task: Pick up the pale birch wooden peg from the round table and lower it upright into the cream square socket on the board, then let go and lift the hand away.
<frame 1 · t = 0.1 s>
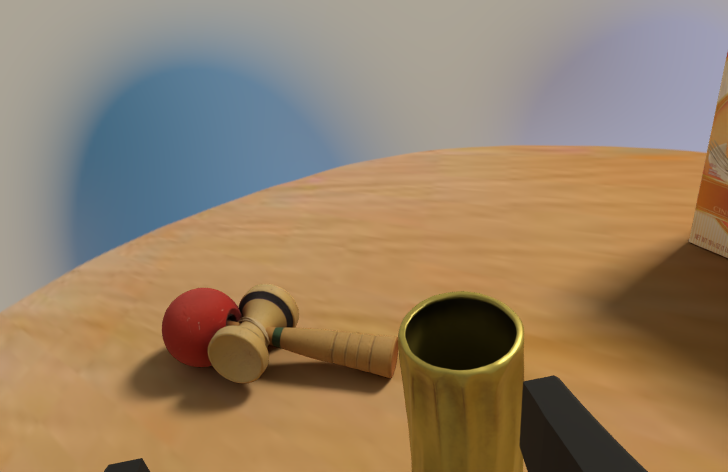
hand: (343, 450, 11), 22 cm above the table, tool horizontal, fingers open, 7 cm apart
kendama: (285, 362, 45), on the table
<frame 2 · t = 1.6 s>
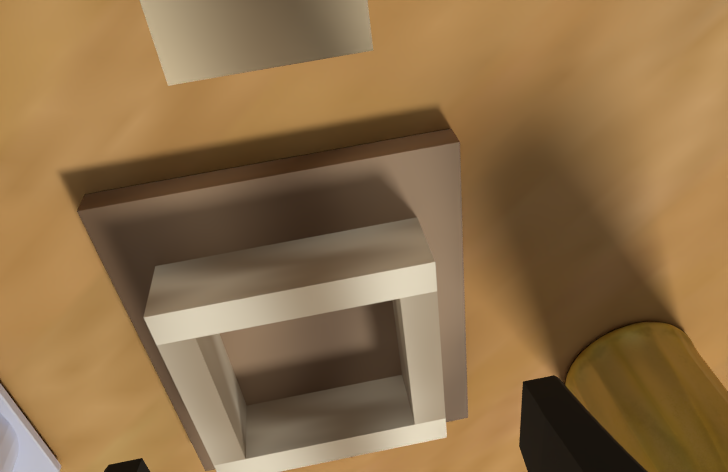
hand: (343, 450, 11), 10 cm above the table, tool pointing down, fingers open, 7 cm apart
vase: (623, 363, 28), on the table
socket board: (309, 316, 23), on the table
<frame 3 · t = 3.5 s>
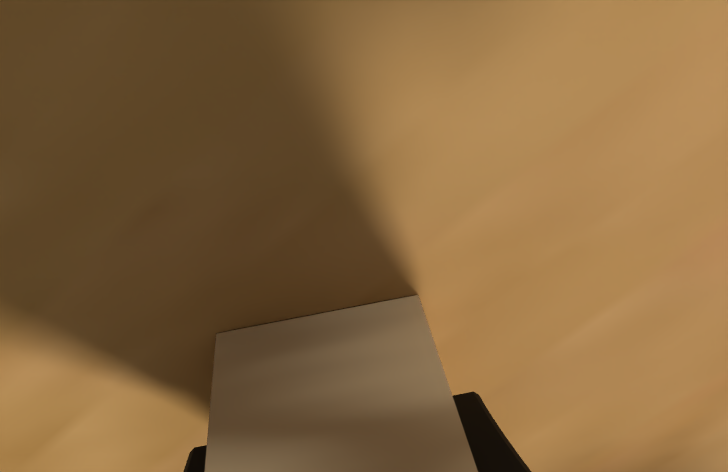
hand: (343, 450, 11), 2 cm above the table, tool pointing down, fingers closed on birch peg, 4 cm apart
birch peg: (333, 381, 13), on the table, touching gripper
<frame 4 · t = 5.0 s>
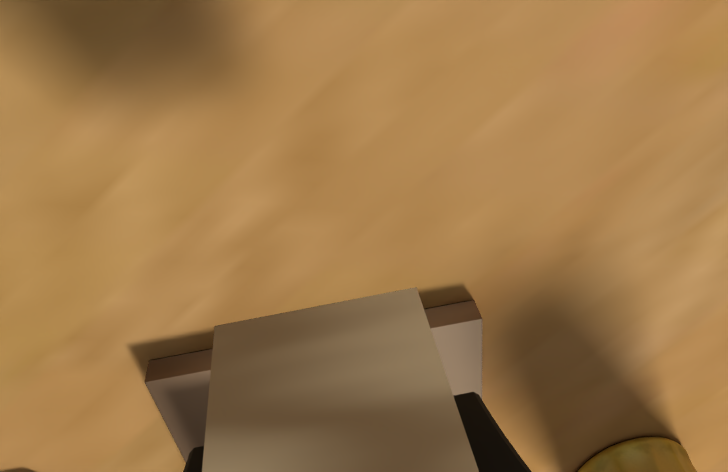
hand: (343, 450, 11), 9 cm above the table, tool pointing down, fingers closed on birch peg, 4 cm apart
birch peg: (332, 374, 13), point 7 cm above the table, touching gripper
vase: (624, 467, 30), on the table
socket board: (340, 443, 26), on the table
when the fingers open (5 cm above the table, at t = 6.9 s): birch peg drops 2 cm, resting on socket board.
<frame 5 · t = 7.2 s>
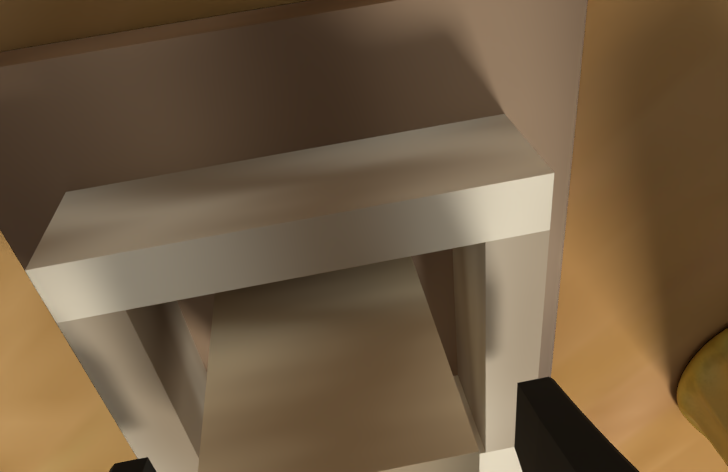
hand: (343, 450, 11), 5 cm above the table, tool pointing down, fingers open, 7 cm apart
birch peg: (322, 300, 14), point 1 cm above the table, touching socket board
socket board: (321, 286, 15), on the table
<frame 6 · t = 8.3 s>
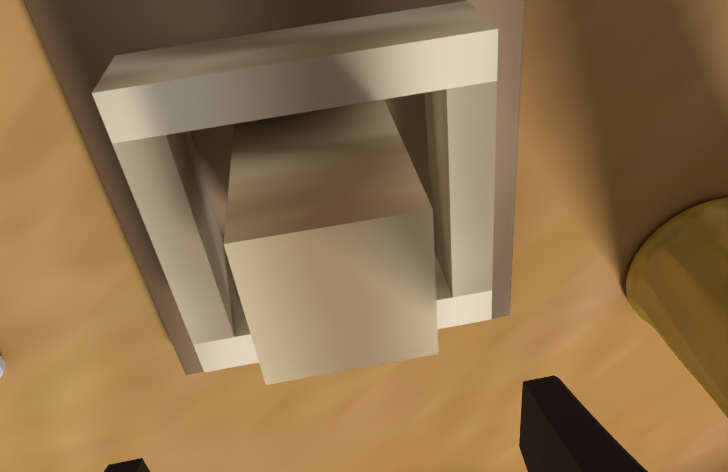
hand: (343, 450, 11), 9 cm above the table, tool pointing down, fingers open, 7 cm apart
birch peg: (319, 167, 17), point 1 cm above the table, touching socket board
vase: (695, 257, 23), on the table
socket board: (317, 164, 18), on the table
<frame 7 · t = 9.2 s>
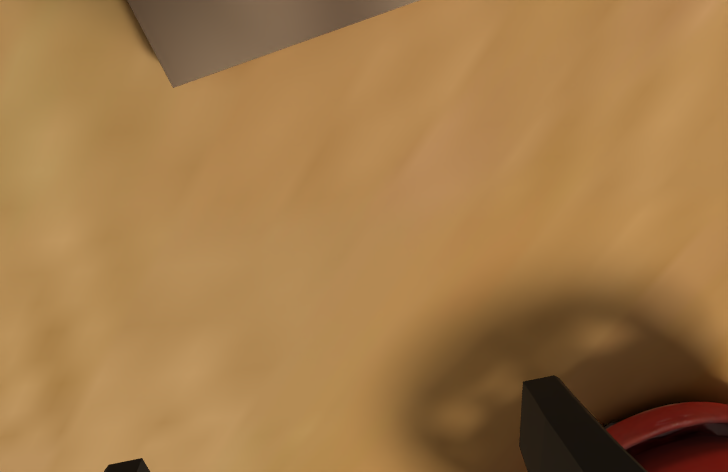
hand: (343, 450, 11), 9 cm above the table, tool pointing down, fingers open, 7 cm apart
plant pot: (644, 457, 31), on the table
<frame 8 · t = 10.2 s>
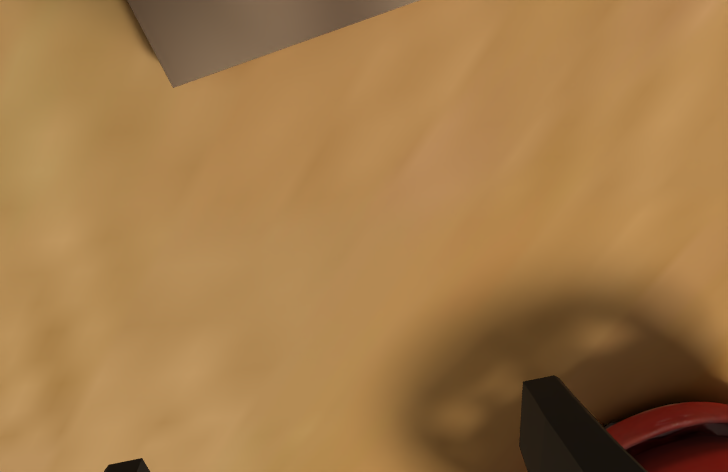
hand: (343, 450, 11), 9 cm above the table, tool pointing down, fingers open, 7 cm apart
plant pot: (644, 457, 31), on the table
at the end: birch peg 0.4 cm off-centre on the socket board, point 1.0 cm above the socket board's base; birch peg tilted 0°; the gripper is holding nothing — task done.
